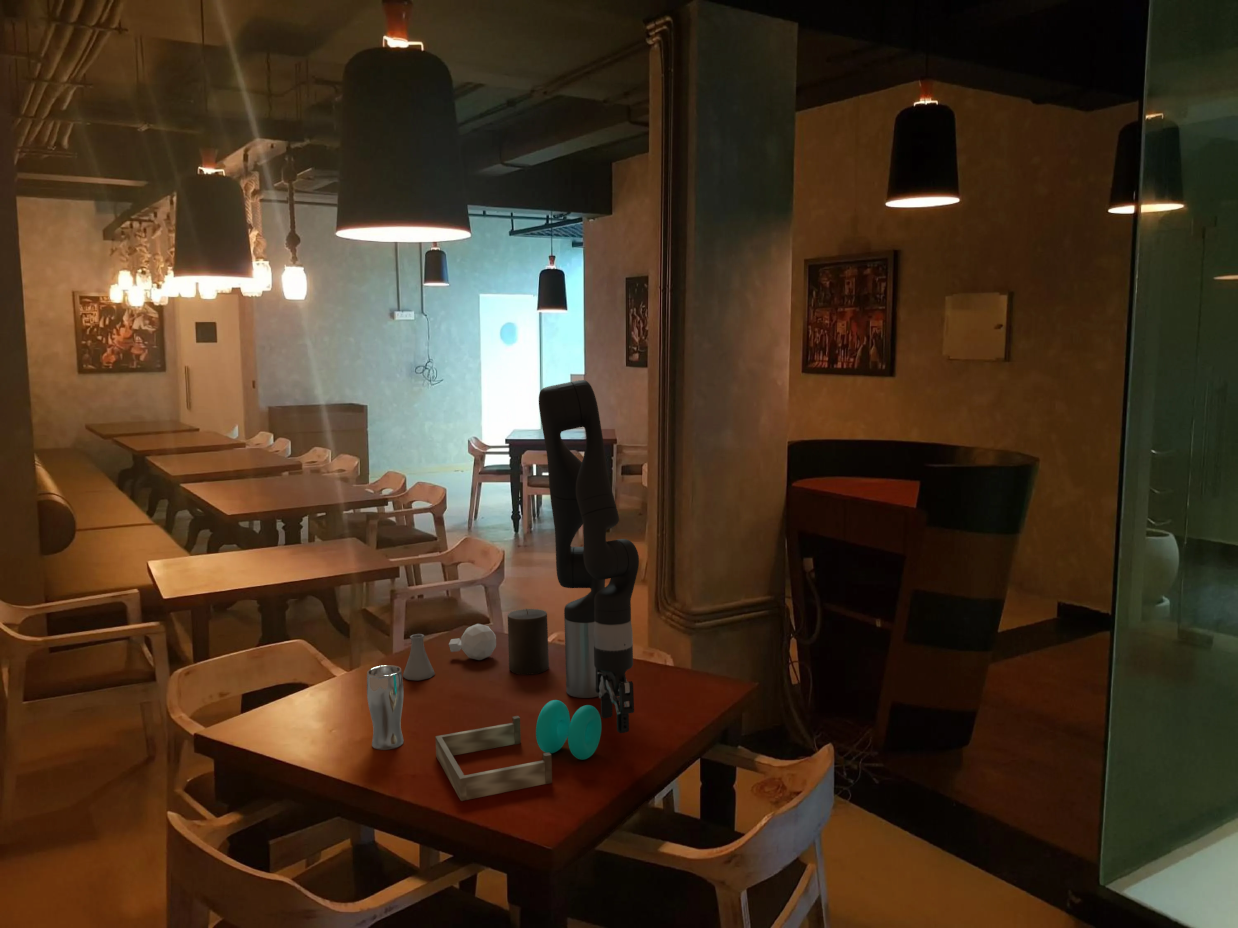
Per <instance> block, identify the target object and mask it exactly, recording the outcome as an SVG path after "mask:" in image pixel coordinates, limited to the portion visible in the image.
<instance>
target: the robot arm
mask: <svg viewBox="0 0 1238 928" xmlns="http://www.w3.org/2000/svg"><path fill="white" fill-rule="evenodd" d="M595 394H596V393H595V392H594V390H593V387H592V385H591V383H590V382H588V381H587V380H586V379H581V380H579V379H578V380H574V381H568V382H563V383H558V384H555V385H554V384H552V385H549V386H546V387H543V388H542V389H541V390H540V392H539V395H538V410H539V415H540V421H541V427H542V428H541V429H542V432H543V440H544V444H545V445H544V446H545V451H546V458H547V459H546V461H547V471H548V472H547V473H548V486H549V487H548V488H549V497H550V505H551V513H552V519H553V524H554V525H553V526H554V535H555V536H554V537H555V538H554V540H555V541H554V542H555V567H556V576H557V577H556V578H557V581H558V583H559V585H560V586H561V587H563V588H566V589H590V592H588V593H587V594H585V596H582V597H580V598H577V599H574V600H572V601H570V602H568V603H567V604H565V606H564V609H563V610H564V613H563V615H564V617H563V619H564V650H565V651H564V654H565V686H566V687H565V690H566V694H567V695H568V696H570V697H572V698H573V697H574V698H580V699H591V698H597V697H598V699H600V717H601V718H602V719H609V718H612V717H613V704H614V706H615V711H616V732H617V733H619V734H624V733H628V732H630V719H629V717H630V714H632V713H633V714H634V713H635V700H634V698H635V696H634V694H635V693H634V683H633V681H632V680H630V681H628V679H627V676H626V672H627V671H629V670H631V668H633V665H634V652H633V651H634V646H633V645H634V639H633V638H634V637H633V634H634V633H633V624H632V607H631V606H632V603H631V602H632V601H631V599H632V595H633V592H634V588H635V585H636V584H635V583H636V580H637V576H638V572H639V568H640V567H639V565H640V556H639V555H640V554H639V552H638V549H637V548H636V545H635V544H634V543H633V542H632V541H631V540H629V539H627V538H618V539H613V540H607V539H606V538H607V530H609V529H613V528H614V527H615V526H617V525H618V524H619V521H620V516H619V513H618V509H617V508H618V507H617V504H616V500H615V497H614V493H613V489H612V486H611V482H610V478H609V471H608V467H607V466H608V465H607V458H606V451H605V444H604V443H605V442H604V438H603V437H604V436H603V431H602V424H601V417H600V412H599V407H598V401H597V397H596V395H595ZM578 428H579V429H580V428H584V430H585V431H584V432H585V439H586V441H585V442H586V443H585V450H584V455H583V458H582V461H581V460H580V459H579V458H578V457H577V456H576V455H575V454H574V453H573V452H572V451H571V450H570V448H568V446H567V445H566V443H565V441H564V440H563V439H562V436H561V434H562V432H565V431H569V430H575V429H578ZM582 526H583V546H571V545H572V542H573V540H574V538H575V537H576V536H575V535H576V534H577V533H578V532H579V530H580V529H581V527H582ZM608 579H609V581H608V583H607V584H606V580H608Z"/></svg>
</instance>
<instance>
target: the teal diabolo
mask: <svg viewBox="0 0 1238 928" xmlns="http://www.w3.org/2000/svg"><path fill="white" fill-rule="evenodd" d="M601 718H602V716H601V713H600V712H599V710H598V709H597V708H596V707H595V706H594V705H591V704H586V705H583V706H580V707H579V708H578V709H576V711H575V712H574V714H573V715H572V717H571V716H570V712H569V709H568V706H567V705H566V704H565V703H564V702H563V701H561V700H558V699H552V700H550V701H548V702H547V703H545V704H544V706H543V707H542V708H541V711H540V712H539V715H538V717H537V721H536V727H535V739H536V742H537V743H536V744H537V745H538V747H539V749H540V750H541V751H542V752H543V753H548V752H549V753H550V754H554V753H556V752H558V751H560V750H561V749H562V747H563V746H564V745H565V743H566V742H567V743H568V744H567V745H568V748H569V751H570V753H571V754H572V756H573V757H575V758H576V759H578V760H581V761H582V760H584V761H585V760H587V759H589V758H591V757H592V756H593V755H594V754H595V752H596V751H597V749H598V747H599V744H600V740H601V736H602V719H601Z"/></svg>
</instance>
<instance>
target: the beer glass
mask: <svg viewBox="0 0 1238 928" xmlns="http://www.w3.org/2000/svg"><path fill="white" fill-rule="evenodd" d="M403 681H404V680H403V671H402V668H401V667H400V666H398V665H393V664H391V665H389V664H388V665H387V664H386V665H379V666H374V667H372V668H370V669H368V670H367V672H366V697H367V703H368V709H369V713H370V719H371V721H372V727H373V729H372V730H373V731H372V733H373V735H372V741H371V746H372V748H373V749H376V750H378V751H379V750H380V751H389V750H394V749H397V748H399V747H401V746H402V745H403V744H404V736H403V733H402V728H401V727H402V726H401V724H402V723H401V722H402V720H401V719H402V714H403V713H402V712H403V704H404V682H403Z"/></svg>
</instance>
